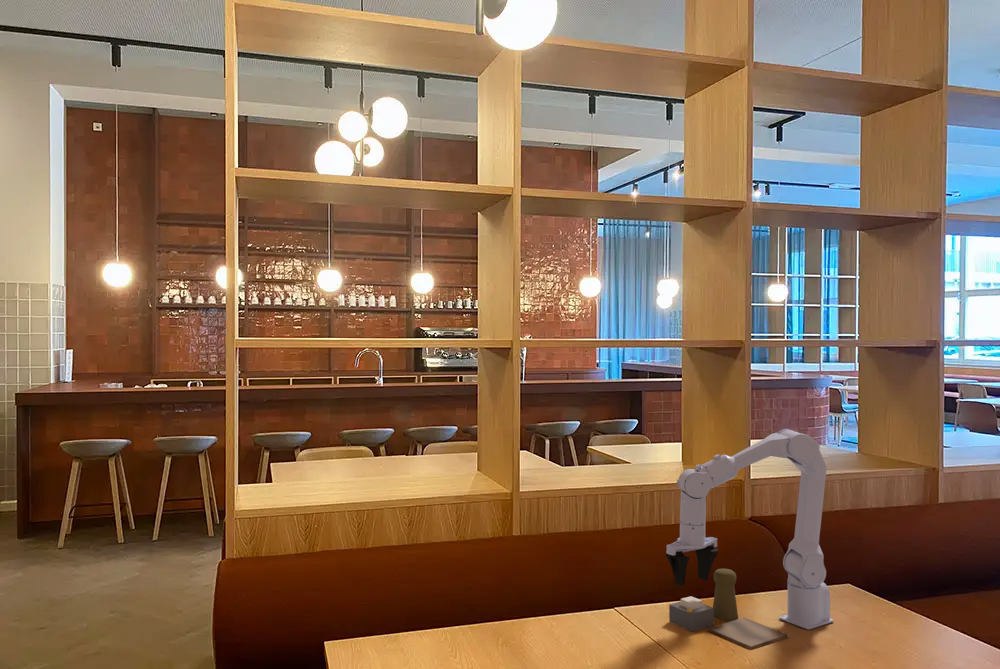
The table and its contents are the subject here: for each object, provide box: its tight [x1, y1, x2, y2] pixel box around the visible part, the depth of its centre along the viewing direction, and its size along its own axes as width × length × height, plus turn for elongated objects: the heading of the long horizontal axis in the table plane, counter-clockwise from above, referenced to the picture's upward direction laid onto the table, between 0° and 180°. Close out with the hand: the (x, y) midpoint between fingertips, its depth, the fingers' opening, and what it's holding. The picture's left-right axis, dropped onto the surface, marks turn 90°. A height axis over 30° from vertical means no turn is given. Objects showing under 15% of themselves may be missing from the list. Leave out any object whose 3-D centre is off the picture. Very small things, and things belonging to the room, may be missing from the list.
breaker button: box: [680, 596, 703, 610], centre depth 177 cm, size 3×3×3 cm
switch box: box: [668, 601, 715, 632], centre depth 177 cm, size 7×7×4 cm
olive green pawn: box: [712, 568, 739, 622], centre depth 181 cm, size 6×6×11 cm
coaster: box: [707, 617, 789, 650], centre depth 171 cm, size 12×12×1 cm
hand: (691, 581), depth 177 cm, fingers open, 7 cm apart
